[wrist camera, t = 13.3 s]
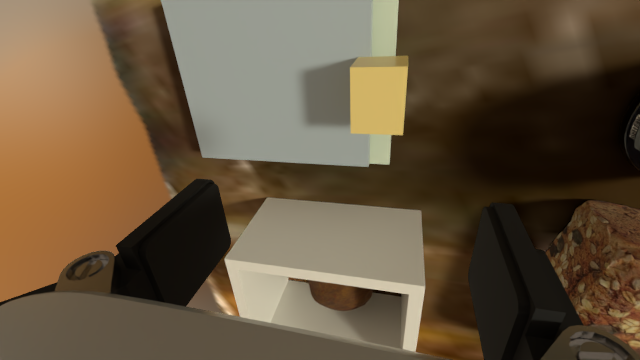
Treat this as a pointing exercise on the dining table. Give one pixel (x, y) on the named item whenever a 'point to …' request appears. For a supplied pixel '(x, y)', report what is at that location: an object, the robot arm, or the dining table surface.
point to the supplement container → (631, 133)
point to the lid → (286, 79)
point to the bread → (602, 267)
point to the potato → (339, 295)
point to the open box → (332, 268)
